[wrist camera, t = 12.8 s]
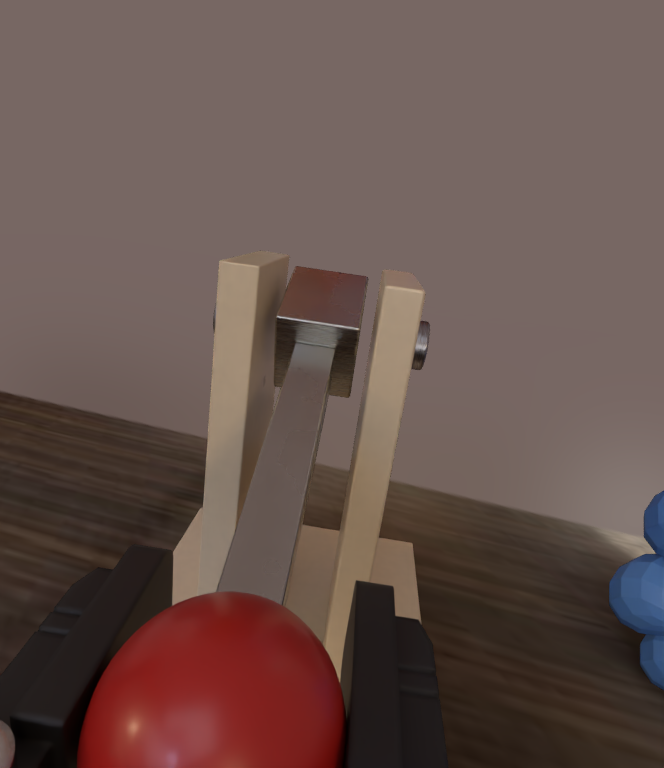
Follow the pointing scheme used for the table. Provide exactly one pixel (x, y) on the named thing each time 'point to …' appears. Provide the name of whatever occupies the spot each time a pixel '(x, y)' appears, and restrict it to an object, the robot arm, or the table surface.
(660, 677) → the grapes
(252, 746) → the power lever
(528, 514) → the table surface
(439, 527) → the table surface
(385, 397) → the switch bracket
